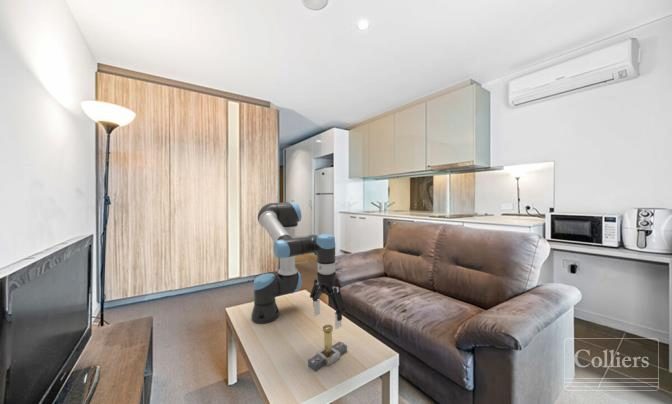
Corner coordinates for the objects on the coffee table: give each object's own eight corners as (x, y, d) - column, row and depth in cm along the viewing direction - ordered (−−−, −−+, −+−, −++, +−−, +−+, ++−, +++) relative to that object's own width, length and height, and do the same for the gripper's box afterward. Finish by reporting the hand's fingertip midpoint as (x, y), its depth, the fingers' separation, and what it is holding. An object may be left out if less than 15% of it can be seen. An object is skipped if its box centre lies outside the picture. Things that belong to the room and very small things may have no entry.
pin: (321, 358, 108) (320, 327, 107) (328, 353, 111) (328, 323, 110) (328, 363, 105) (327, 331, 104) (335, 358, 108) (334, 327, 107)
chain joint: (317, 373, 99) (316, 366, 99) (306, 364, 105) (305, 357, 104) (349, 352, 112) (349, 346, 111) (337, 345, 117) (337, 339, 117)
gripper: (301, 266, 113) (302, 313, 114) (340, 282, 94) (341, 337, 96) (314, 263, 118) (315, 307, 119) (354, 277, 100) (354, 329, 101)
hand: (327, 321), depth 108 cm, fingers open, 13 cm apart
